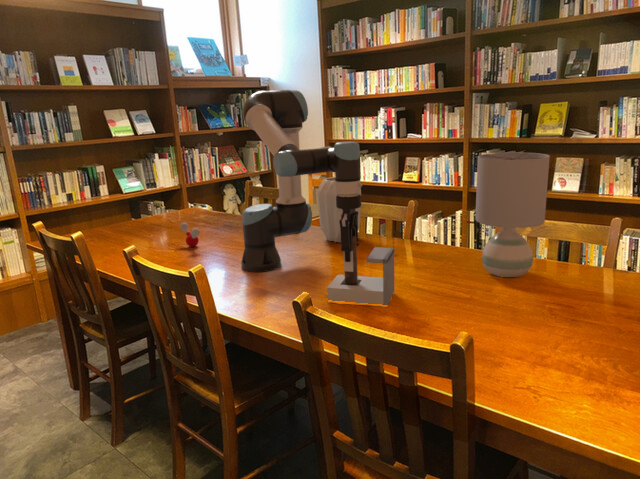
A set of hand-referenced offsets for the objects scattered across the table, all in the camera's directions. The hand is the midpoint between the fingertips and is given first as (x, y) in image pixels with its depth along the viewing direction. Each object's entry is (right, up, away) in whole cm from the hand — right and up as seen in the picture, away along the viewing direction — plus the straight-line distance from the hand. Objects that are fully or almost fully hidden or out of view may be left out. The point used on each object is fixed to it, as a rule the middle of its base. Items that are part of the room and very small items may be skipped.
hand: (350, 268), depth 155 cm
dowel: (0, -5, +1) cm, 5 cm away
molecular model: (-67, +6, +69) cm, 96 cm away
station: (+3, -9, +2) cm, 10 cm away
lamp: (+55, -3, +17) cm, 57 cm away
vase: (0, +9, +70) cm, 70 cm away
